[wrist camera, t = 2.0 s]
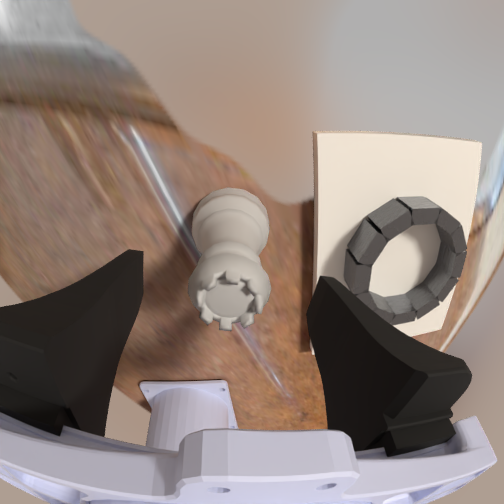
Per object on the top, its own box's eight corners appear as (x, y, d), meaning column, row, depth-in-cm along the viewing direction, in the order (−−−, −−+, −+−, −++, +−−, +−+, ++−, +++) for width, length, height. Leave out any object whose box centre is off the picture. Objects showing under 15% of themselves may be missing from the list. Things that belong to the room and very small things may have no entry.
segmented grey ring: (436, 297, 21) (448, 313, 19) (339, 314, 21) (347, 333, 19) (458, 195, 17) (476, 206, 15) (348, 199, 17) (361, 211, 15)
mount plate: (435, 322, 24) (440, 329, 23) (309, 345, 23) (312, 354, 23) (473, 140, 16) (482, 142, 15) (312, 131, 16) (317, 133, 15)
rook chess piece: (279, 199, 18) (310, 272, 11) (252, 263, 20) (263, 357, 13) (205, 174, 17) (184, 235, 10) (184, 242, 19) (159, 332, 12)
